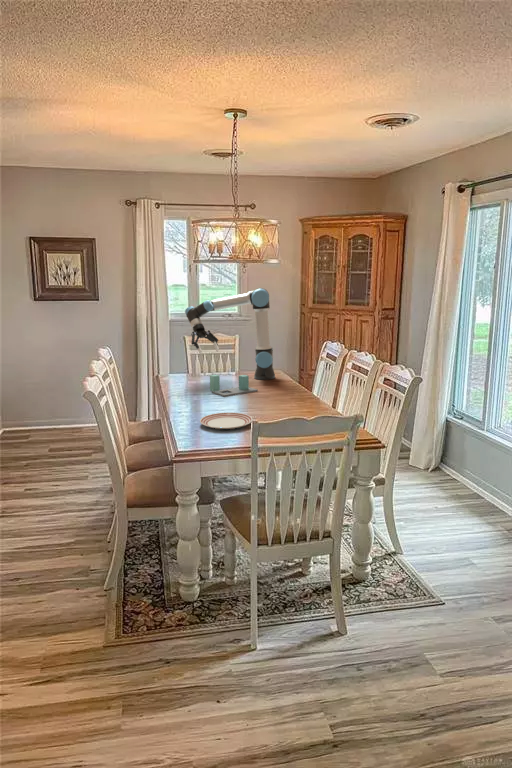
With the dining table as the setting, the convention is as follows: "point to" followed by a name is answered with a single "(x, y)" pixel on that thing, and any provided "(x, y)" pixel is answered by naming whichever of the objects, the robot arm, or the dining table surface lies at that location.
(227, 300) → the robot arm
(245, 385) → the block
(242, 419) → the dinner plate
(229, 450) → the dining table surface
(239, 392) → the grey slotted board
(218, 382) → the cylinder
